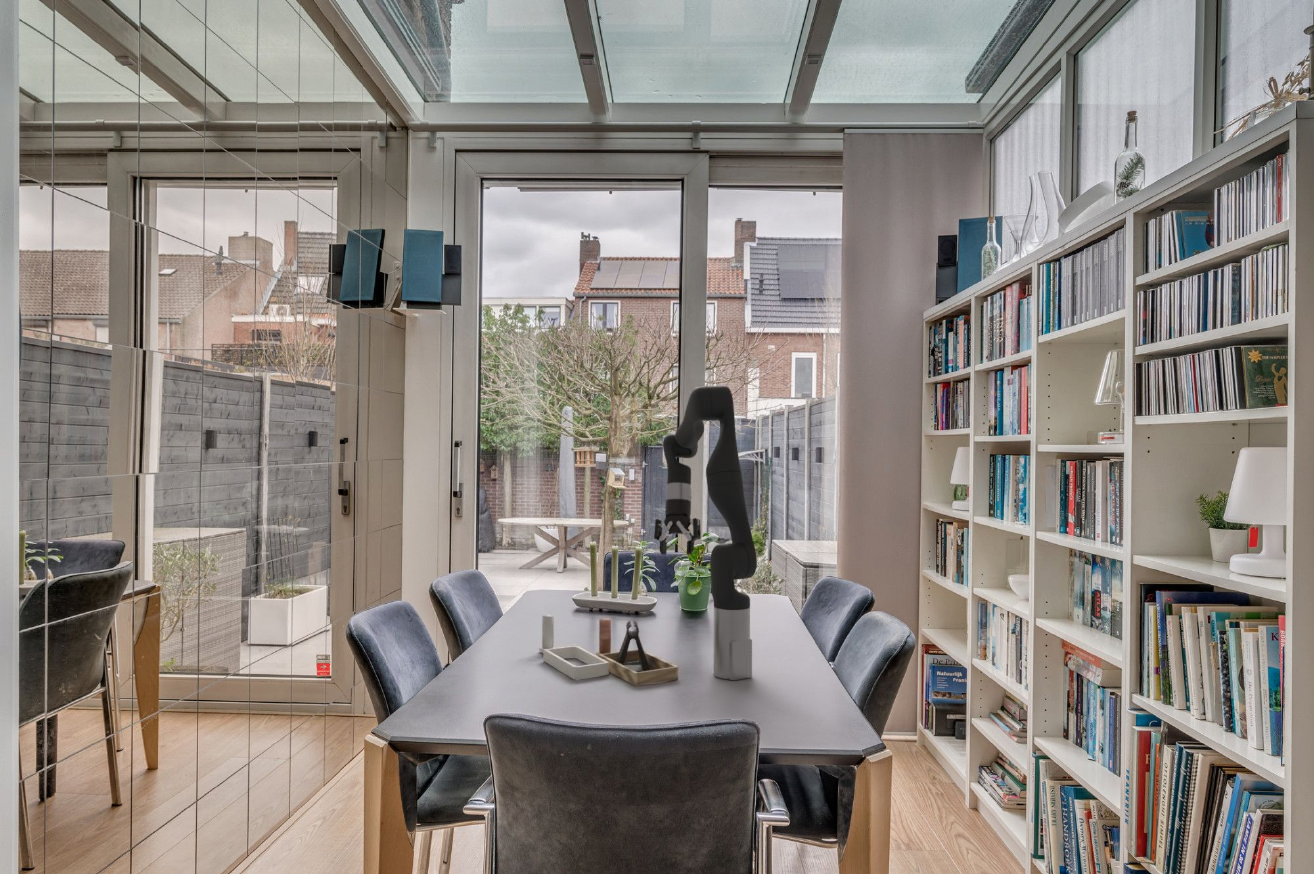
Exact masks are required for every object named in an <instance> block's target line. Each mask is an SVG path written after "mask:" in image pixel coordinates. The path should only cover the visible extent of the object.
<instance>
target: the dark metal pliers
mask: <svg viewBox="0 0 1314 874" xmlns="http://www.w3.org/2000/svg"><path fill="white" fill-rule="evenodd" d="M633 626H634V627H635V629H634V630H630V628H631V627H632V622H631V620H629V621H627V623H626V625H625V627H626V632H625V636H624V638H623V642H622V644H621V646H620V649H619V651H618V652H619V654H618V657H617V660H616V662H618V663H620V664H622V665H624V666H626V667H628V668H630V669H632V670H634V671H636V672H643V671H649V670H651V667H649V664H648V661H647V658H646V655H645V652H646V651H645V650H644V647H643V644H642V641H641V639H640V636H639V634H640V630H639V626H638V623H637V621H635V620H633ZM632 640H635V643H636V647H637V649H638V652H639V655H640V659H641V662H640V664H626V663H625V659H626V655H627V651H628V650H629V647H630V643H631V641H632ZM644 651H645V652H644Z"/></svg>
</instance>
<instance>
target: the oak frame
mask: <svg viewBox="0 0 1314 874" xmlns="http://www.w3.org/2000/svg"><path fill="white" fill-rule="evenodd" d="M598 622H599V627H598V630H599V631H598V633H599V634H598V637H599V638H598V640H599V641H598V642H599V643H598V647H599V648H598V650H599V651H595V655H596V656H598V657H600V658H602V659H604V660H605V661H607V662H609V673H611V674H613V675H614V676H616V677H618V678H620V679H622V680H623V681H626V682H628V683H629V684H631V685H632V686H635V687H636V686H643V685H650V684H651V685H652V684H657V683H663V682H670V681H675V680H678V679H679V666H678V665H676V664H673V663H672V662H669V661H668V660H665V659H663V658H661V657H658V656H656V655H653V654H651V653H650V652H647V651H645V650H644V652H645V655H646V658H647V661H648V664H649V667H650V670H649V671H643V672H636V671H634V670H632V669H630V668H628V667H626V666H624V665H625V664H627V663H635V662H639V663H641V659H640V655H639V652H638V648H637V649H630V650H629V649H628V651H627V655H626V659H625V663H624V665H622V664H620V663H618V662H616V660H617V657H618V654H619V652H620V651H616V652H615V651H612V650H611V649H612V646H611V645H612V618H609V617H601V618H599V619H598Z"/></svg>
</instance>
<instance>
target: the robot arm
mask: <svg viewBox="0 0 1314 874" xmlns="http://www.w3.org/2000/svg"><path fill="white" fill-rule="evenodd" d="M733 398H734V397H733V394H732V390H731V388H730V387H729V386H727V385H701V386H696V387H695V388H694V389H692V391H691V393H690V395H689V397H688V401H687V405H686V408H685V411H684V416H683V419H682V421H681V423H680V424H679V426H678V428H677V429H676V431H675V433H668V434H666V435H665V437H664V438H663V441H662V449H663V453H664V454H663V455H664V458H665V461H666V466H667V467H666V468H667V479H666V481H667V483H666V491H665V511H664V513H665V519H664V520H663V519H657V518H656V519H655V524H654V533H653V535H654V536H653V538H654V540H656V541H658V542H659V553H660V554H661V555H662V556H665V555H667V549H668V548H667V546H668V543H667V541H668V539H669V538H670V537H672V535H677V534H680V535H684V536H685V537H686V539H687V541H686V555H688V556H689V555H691V556H692V555H693V553H694V551H695V541H698V540H701V538H702V535H701V529H702V528H701V519H700V518H696V517H694V518H691V514H692V513H691V511H692V487H691V485H692V468H691V467H690V466H689V465H687V464H684V463H681V462H679V461H678V459H677V458H681V459H693V457H695V456H696V455H697V454H698V449H699V447H698V443H699V442H700V441H699V440H700V439H701V438H702V437H703V436H704V433H705V432H704V431H705V423H704V421H705V422H708V421H719V435H718V439H717V442H716V443H715V444H716V445H715V447H714V449H713V451H712V453H711V455H710V457H709V459H708V462H707V464H706V467H705V478H706V485H707V491H708V496H709V497H710V500H711V502H712V503H713V506H714V507H716V509H717V511H718V512H719V513H720V514H721V516H722V517H723V519H724V520H725V522H726V524H727V526H728V529H729V532H730V533H729V534H730V537H731V542H729V543H720V544H719V543H718V544H717V545H715V546H714V547H713V549H712V550H711V554H710V560H709V564H710V565H709V568H710V569H709V570H710V571H709V572H710V588H711V589H710V590H711V595H712V599H713V676H714V677H716V678H719V679H724V680H731V681H737V680H742V679H749V678H752V677H753V639H751V597H750V595H748V594H746V593H744V592H741V591H738V590H737V589H736V587H735V586H736V585H735V581H736V580H737V581H738V580H746V579H750V578H752V577H753V576H754V575H755V573H756V572H757V568H758V567H757V566H758V559H757V553H756V552H757V551H756V548H755V547H756V546H755V542H754V538H753V535H752V530H751V526H750V523H749V518H748V517H749V516H748V510H747V504H746V497H745V490H744V482H743V474H742V469H741V463H740V458H739V452H738V451H739V450H738V445H737V443H738V442H737V436H736V433H737V432H736V421H735V406H734V399H733ZM690 526H692V531H691V530H690ZM663 527H665V528H664V530H663Z"/></svg>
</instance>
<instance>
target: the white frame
mask: <svg viewBox="0 0 1314 874" xmlns="http://www.w3.org/2000/svg"><path fill="white" fill-rule="evenodd" d="M541 617H542V619H541V620H542V626H541V627H542V628H541V630H542V631H541V647H539V648H538V649H539V652H540V654H543V655H542V657H543V662H545V663H546V664H548V665H550V666H551V667H553V668H554V669H556V670H558V671H560V672H561V673H562V674H563V675H566V676H567V677H569V678H571V679H572V680H583V679H589V678H596V677H602V676H608V675H609V674H610V672H609V662H607V661H605V660H604V659H602V658H600V657H598V656H596V654H593V653H591V652H590V651H588V650H586V649H584V648H582V647H580V646H578V645H568V646H562V647H561V646H560V647H555V645H554V643H555V642H554V640H555V635H554V633H555V632H554V631H555V628H554V627H555V625H554V624H555V615H554V614H544V615H543V614H542V616H541ZM573 658H575V659H576V660H579V661H581V662H582V663H583V665H579V666H578V665H577V666H576V665H574V664H573V663H571V662H569V661H568V660H566V659H573Z"/></svg>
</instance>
